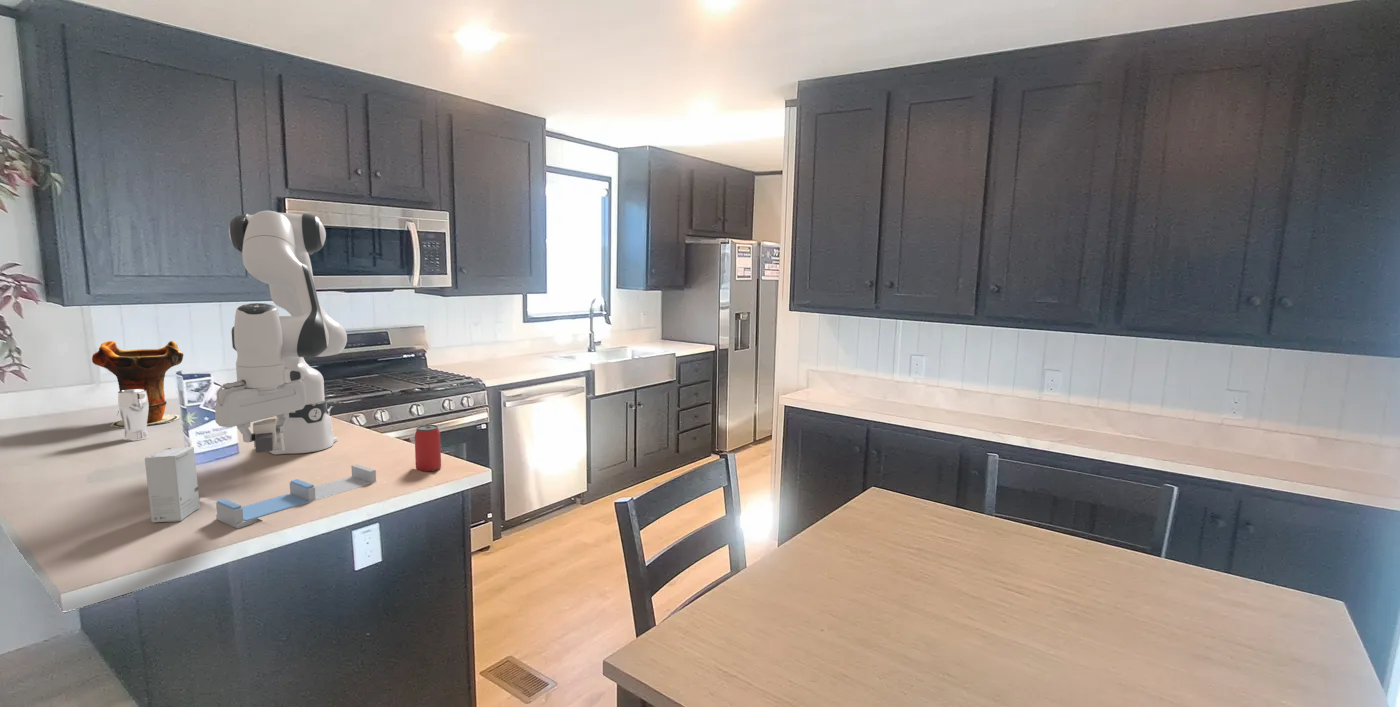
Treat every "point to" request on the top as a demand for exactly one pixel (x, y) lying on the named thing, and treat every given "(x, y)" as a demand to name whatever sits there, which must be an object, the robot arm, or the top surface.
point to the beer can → (427, 448)
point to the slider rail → (291, 498)
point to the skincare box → (172, 484)
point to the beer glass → (134, 413)
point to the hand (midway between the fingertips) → (265, 437)
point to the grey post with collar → (264, 435)
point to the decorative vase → (141, 374)
